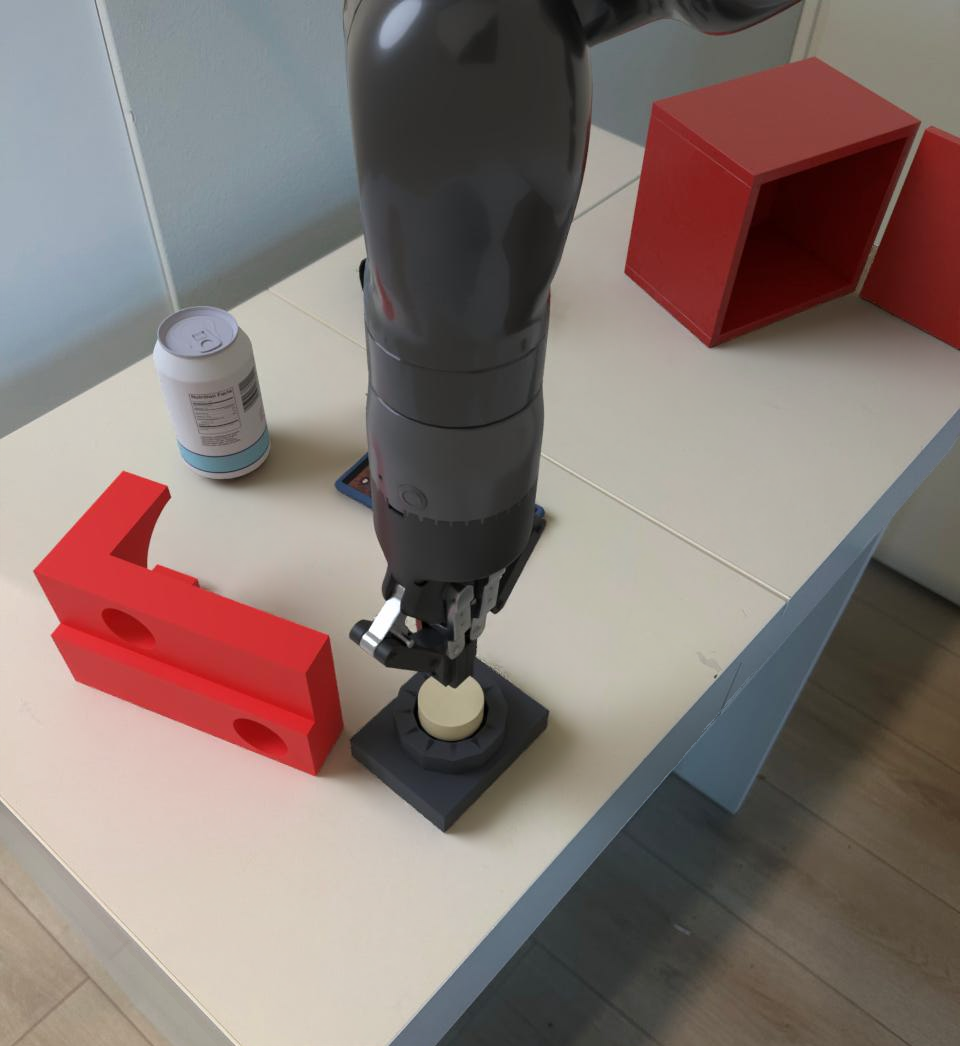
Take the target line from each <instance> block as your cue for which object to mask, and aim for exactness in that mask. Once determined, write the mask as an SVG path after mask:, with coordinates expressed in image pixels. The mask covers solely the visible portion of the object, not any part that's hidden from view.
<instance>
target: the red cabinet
mask: <svg viewBox="0 0 960 1046" xmlns="http://www.w3.org/2000/svg"><path fill="white" fill-rule="evenodd" d="M921 124H922V120H921V119H918V118H917V117H915V116H914V115H912V114H910V113H909V112H907V111H906V110H904V109H902V108H900V107H899V106H898V105H896V104H895V103H892V102H891V101H889V100H887V99H886V98H884V97H883V96H881V95H879V94H878V93H877V92H874V91H872V90H871V89H869V88H867V87H866V86H865V85H863V84H861V83H859V82H858V81H856V80H855V79H853V78H851V77H849V76H848V75H846V74H845V73H843V72H841V71H840V70H838V69H836V68H834V67H833V66H831V65H830V64H828V63H827V62H825V61H823V60H822V59H820V58H818V57H816V56H810V57H807V58H804V59H800V60H797V61H796V60H795V61H793V62H790V63H786V64H782V65H779V66H775V67H772V68H768V69H765V70H761V71H758V72H754V73H751V74H746V75H743V76H739V77H736V78H733V79H729V80H726V81H721V82H719V83H715V84H711V85H708V86H704V87H701V88H697V89H693V90H690V91H686V92H683V93H679V94H676V95H671V96H669V97H665V98H661V99H657V100H654V101H653V102H652V106H651V111H650V117H649V122H648V129H647V135H646V140H645V147H644V152H643V156H642V157H643V158H642V166H641V168H640V169H641V170H640V175H639V181H638V188H637V193H636V200H635V206H634V211H633V218H632V222H631V227H630V228H631V229H630V236H629V239H628V246H627V251H626V252H627V253H626V259H625V265H624V270H623V272H624V274H625V275H626V276H627V277H628V278H629V279H630V280H632V282H634V283H635V284H636V285H637V286H638V287H639V288H641V289H642V290H643V291H644V292H645V293H646V294H647V295H649V297H651V298H652V299H653V300H654V301H655V302H656V303H658V304H659V306H661V307H662V308H663V309H664V310H665V311H666V312H668V313H669V314H670V315H671V316H672V317H673V318H674V319H676V321H678V322H679V323H680V324H681V325H682V326H683V327H684V328H686V330H688V331H689V332H690V333H691V334H692V335H694V336H695V337H696V338H697V339H698V340H699V341H700V342H701V343H702V344H704V345H705V346H706V348H708V349H710V348H712V347H715V346H718V345H721V344H723V343H725V342H728V341H730V340H733V339H735V338H738V337H740V336H743V335H745V334H748V333H751V332H753V331H756V330H758V329H761V328H764V327H765V326H769V325H771V324H774V323H776V322H779V321H781V320H784V319H787V318H789V317H791V316H794V315H797V314H799V313H802V312H805V311H807V310H809V309H811V308H815V307H817V306H820V305H823V304H825V303H828V302H830V301H832V300H835V299H838V298H840V297H843V296H845V295H847V294H850V293H853V292H855V291H856V290H857V288H858V285H859V282H860V280H861V278H862V275H863V272H864V270H865V267H866V264H867V263H868V259H869V257H870V254H871V252H872V249H873V247H874V244H875V241H876V239H877V237H878V234H879V231H880V229H881V226H882V223H883V221H884V218H885V216H886V213H887V211H888V208H889V207H890V203H891V201H892V199H893V196H894V194H895V191H896V189H897V186H898V183H899V180H900V178H901V176H902V173H903V170H904V167H905V166H906V163H907V161H908V158H909V155H910V152H911V149H912V147H913V144H914V143H915V139H916V136H917V133H918V132H919V130H920V127H921Z"/></svg>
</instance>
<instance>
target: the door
mask: <svg viewBox="0 0 960 1046" xmlns="http://www.w3.org/2000/svg"><path fill="white" fill-rule="evenodd" d="M876 249H877V250H876V252H875V254H874V257H873V259H872V262H871V265H870V267H869V269H868V272H867V275H866V277H865V280H864V282H863V285H862V287H861V289H860V293H859V297H860V298H863V299H865V300H866V301H869V302H871V303H872V304H874V305H876V306H877V307H879V308H881V309H883V310H885V311H887V312H888V313H890V314H893V315H894V316H895V317H898V318H900V319H902V320H904V321H905V322H907V323H909V324H911V325H913V326H915V327H917V328H919V329H920V330H922V331H924V332H926V333H927V334H929V335H932V337H935V338H937V339H938V340H941V341H943V342H944V343H946V344H948V345H950V346H952V347H954V348H956V349H957V350H959V351H960V137H959V136H956V135H954V134H952V133H950V132H948V131H945V130H944V129H941V128H938V127H936V126H934V125H930V126H928V127H927V128H925V129H924V131H923V134H922V135H921V139H920V140H919V143H918V146H917V149H916V151H915V154H914V155H913V159H912V161H911V164H910V166H909V169H908V171H907V174H906V176H905V178H904V181H903V184H902V186H901V188H900V191H899V194H898V197H897V199H896V202H895V204H894V207H893V209H892V211H891V214H890V216H889V219H888V222H887V225H886V227H885V229H884V231H883V234H882V237H881V239H880V241H879V244H878V247H877V248H876Z"/></svg>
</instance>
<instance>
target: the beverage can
mask: <svg viewBox="0 0 960 1046" xmlns="http://www.w3.org/2000/svg"><path fill="white" fill-rule="evenodd" d="M156 337H157V339H156V343H155V345H154V349H153V352H152V359H153V363H154V367H155V371H156V374H157V378H158V380H159V383H160V388H161V391H162V394H163V398H164V401H165V404H166V408H167V412H168V414H169V415H168V416H169V418H170V422H171V425H172V429H173V432H174V435H175V439H176V442H177V445H178V449H179V452H180V455H181V458H182V460H183V463H184V464H185V466H186V467H187V469H189V470H191V471H192V472H193V473H195V474H196V475H199V476H200V477H204V478H207V479H212V480H213V479H214V480H227V479H228V480H229V479H230V480H231V479H236V478H239V477H242V476H245V475H247V474H249V473H252V472H253V471H255V470H256V469H257V468H259V467H260V466H261V465H262V464H263V463H264V462H265V461H266V459H267V458H268V457H269V453H270V451H271V445H272V444H271V438H270V433H269V427H268V423H267V422H268V421H267V417H266V412H265V411H266V410H265V406H264V401H263V397H262V391H261V386H260V380H259V375H258V369H257V365H256V360H255V354H254V348H253V344H252V341H251V339H250V337H249V335H248V334H247V333H246V332H245V331H244V330H243V329H242V328H241V327H240V326H239V324H238V321H237V320H236V317H234V316H233V315H232V314H231V313H230V312H229V311H226V310H225V309H222V308H219V307H215V306H207V305H199V306H190V307H185V308H182V309H180V310H176V311H175V312H172V313H171V314H170V315H168V316H166V317H165V318H164V319H163V320H162V321H161V323H160V324H159V326H158V328H157V331H156Z"/></svg>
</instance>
